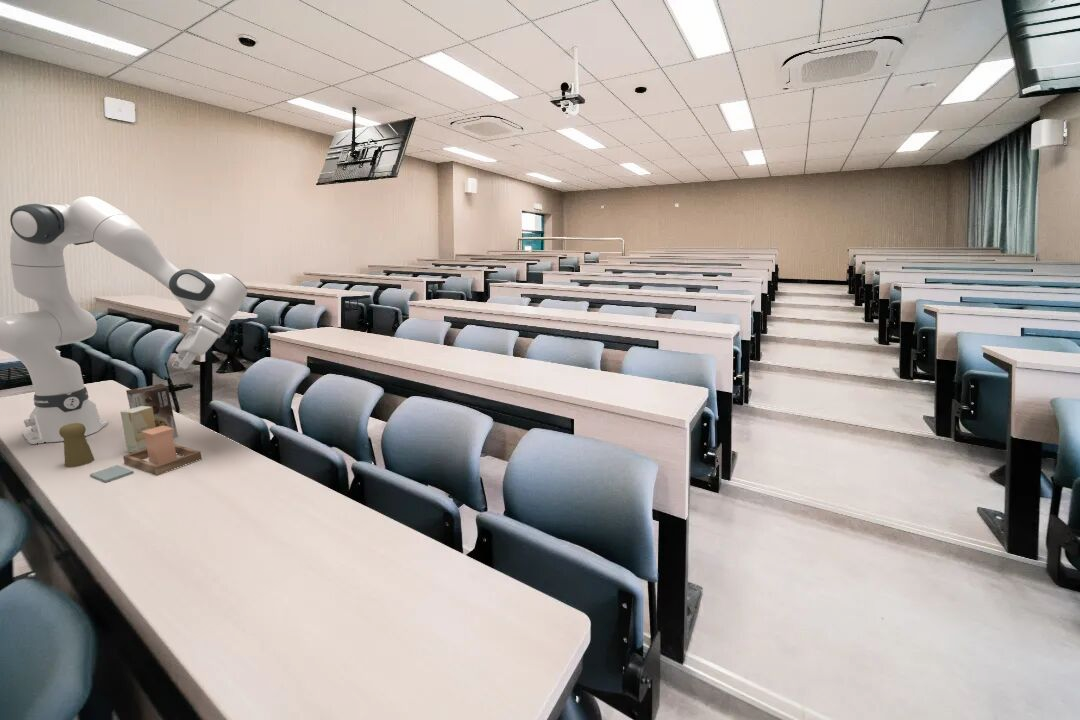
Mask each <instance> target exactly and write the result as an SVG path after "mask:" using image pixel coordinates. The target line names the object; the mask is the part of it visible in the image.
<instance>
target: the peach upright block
mask: <svg viewBox="0 0 1080 720" xmlns="http://www.w3.org/2000/svg"><path fill="white" fill-rule="evenodd" d="M172 433H174V428H171V427H167V426H163V425H162V426H159V427H155V428H152V429H149V430H145V431H142V436H145V441H146V446H147V451H148V456H149V457H148V462H150V463H153V464H156V465H160V464H163V463H166V462H169V461H171V460H174V459H177V458H178V457H177V454H176V451H175V445H174V444H175V440H174V437H173V434H172Z"/></svg>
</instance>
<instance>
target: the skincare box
mask: <svg viewBox="0 0 1080 720" xmlns="http://www.w3.org/2000/svg"><path fill="white" fill-rule="evenodd" d="M120 417H121V421H122V428H123V435H124V440H125V444H126V451H127V452H128V453H134V452H137V451H141V450H144V449H147V446H146V441H145V436H142V431H145V430H149V429H152V428H155V427H156V426H155V420H154V414H153V408H152V407H149V406H139V407H136V408H132V409H130V408H128V409H126V410H123V411H122V410H121V411H120Z"/></svg>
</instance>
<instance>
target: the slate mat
mask: <svg viewBox="0 0 1080 720" xmlns="http://www.w3.org/2000/svg"><path fill="white" fill-rule="evenodd" d="M132 473H133V474H134V473H135V471H134V470H133V469H129V468H126V467H124V466H122V465H118V464H117V465H114V466H110V467H107V468H105V469H102V470H98V471H95V472H92V473H89V477H91V478H93V479H96V480H99V481H101V482H103V483H110V482H111V481H115V480H117V479H121V478H123V477H126V476H127V477H128V476H129V475H132Z"/></svg>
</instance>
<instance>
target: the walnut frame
mask: <svg viewBox="0 0 1080 720" xmlns="http://www.w3.org/2000/svg"><path fill="white" fill-rule="evenodd" d="M174 445H175V451H176V453H177V454H176V455H179V454H181V455H180V457H177V459H174V460H171V461H169V462H166V463H163V464H160V465H156V464H153V463H150V462H149V461H147V460H145V459H146V458H149V456H148V451H147V449H144V450H141V451H137V452H134V453H133V452H130V453H128V454H125V455H123V463H124V464H125V465H127V466H130V467H133V468H135V469H138V468H139V469H138V470H141V469H142V470H141V471H144V470H145V471H144V472H147V473H151V474H152V475H155V474H156V476H159V474H160V475H162V474H164V472H165V473H167V472H166V471H168V472H170V471H169V470H171V469H173V470H175V469H174V468H176V469H178V468H177V467H179V468H181V467H180V466H182V467H183V465H184V466H186V465H185V464H187V465H189V464H188V463H190V464H192V463H191V462H193V463H195V462H197V461H196V460H198V461H200V460H199V459H201V460H202V459H203V458H202V457H203V456H202V452H201V451H199V450H197V449H196V450H195V449H192V448H189V447H186V446H182V445H180V444H176V443H174ZM182 455H184V456H182ZM194 461H195V462H194ZM171 471H172V470H171ZM161 473H162V474H161Z"/></svg>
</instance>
